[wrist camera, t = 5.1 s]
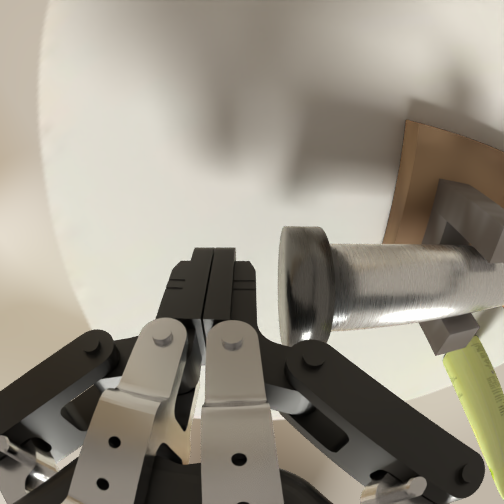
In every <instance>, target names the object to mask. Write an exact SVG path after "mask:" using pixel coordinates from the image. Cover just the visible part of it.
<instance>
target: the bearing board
mask: <svg viewBox="0 0 504 504" xmlns="http://www.w3.org/2000/svg"><path fill="white" fill-rule="evenodd" d="M382 244H423V245H472V246H473V247H474V248H475V249H476V250H477V251H478V252H479V253H480V254H481V255H482V256H483V257H484V258H485V259H486V261H487V262H488V263H489V264H491V263H504V152H503V151H500V150H498V149H496V148H493V147H491V146H488V145H486V144H483V143H481V142H478V141H475V140H473V139H470V138H467V137H464V136H461V135H458V134H455V133H452V132H449V131H446V130H443V129H439V128H436V127H432V126H429V125H425V124H421V123H418V122H414V121H409V120H406V123H405V132H404V140H403V147H402V154H401V160H400V166H399V172H398V178H397V183H396V188H395V193H394V198H393V202H392V207H391V211H390V216H389V220H388V224H387V228H386V232H385V236H384V240H383V243H382ZM419 324H420V326H421V328H422V330H423V332H424V334H425V336H426V338H427V340H428V342H429V344H430V346H431V348H432V350H433V352H434V354H435V356H437V355H440V354H444V353H448V352H452V351H455V350H459V349H462V348H465V347H466V346H467V345H468V344H469V342H470V341H471V339H472V338H473V337H474V335H475V334H476V332H477V331H478V329H479V328H480V327H479V325H478V323H477V322H476V320H475V319H474V317H473V316H472V314H471V313H468V314H463V315H458V316H453V317H447V318H442V319H436V320H430V321H424V322H419Z"/></svg>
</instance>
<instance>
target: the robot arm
mask: <svg viewBox="0 0 504 504" xmlns="http://www.w3.org/2000/svg"><path fill="white" fill-rule="evenodd" d="M201 365H206V367H205V402H204V404H203V405H202V410H201V463H197V464H189V459H190V452H191V441H190V432H191V426H192V421H193V417H194V412H195V407H196V402H197V397H198V392H199V388H200V380H199V378H200V370H201ZM93 384H94V385H93ZM92 385H93V386H92ZM91 386H92V387H91ZM89 387H90V388H89ZM88 388H89V389H88ZM86 389H88V390H86ZM85 390H86V391H85ZM84 391H85V392H84ZM82 392H83V393H82ZM81 393H82V394H81ZM80 394H81V395H80ZM78 395H79V396H78ZM77 396H78V397H77ZM75 397H76V398H75ZM74 398H75V399H74ZM73 399H74V400H73ZM71 400H72V401H71ZM270 409H272V410H276V411H279V412H280V414H281V415H282V416H283V417H284V418H285V419H286V420H287V421H288V422H289V423H290V424H291V425H292V426H293V427H294V428H295V429H297V430H298V431H299V432H300V433H301V434H302V435H303V436H304V437H305V438H306V439H308V440H309V441H310V442H311V443H312V444H313V445H314V446H315V447H317V448H318V449H319V450H320V451H321V452H322V453H324V454H325V455H326V456H327V457H328V458H330V459H331V460H332V461H333V462H334V463H336V464H337V465H338V466H339V467H340V468H342V469H343V470H344V471H345V472H347V473H348V474H349V475H350V476H352V477H353V478H354V479H356V480H357V481H358V482H360V483H361V484H362V485H364V486H365V488H364V490H363V492H362V494H361V497H360V504H449V503H451V502H454V501H457V500H460V499H463V498H466V497H469V496H470V495H472V494H473V493H474V492H475V491H476V490H477V489H478V488H479V486H480V484H481V483H482V481H483V478H484V474H485V465H484V461H483V459H482V457H481V456H480V454H478V453H477V452H475V451H474V450H473V449H471V448H470V447H468V446H467V445H465V444H463V443H462V442H461V441H459V440H458V439H456V438H455V437H454V436H452V435H451V434H449V433H448V432H446V431H445V430H444V429H442V428H441V427H439V426H438V425H436V424H435V423H434V422H432V421H431V420H429V419H428V418H427V417H425V416H424V415H422V414H421V413H419V412H418V411H417V410H415V409H414V408H412V407H411V406H410V405H409V404H407V403H406V402H404V401H403V400H402V399H400V398H399V397H398V396H396V395H395V394H393V393H392V392H391V391H389V390H388V389H387V388H385V387H384V386H383V385H381V384H380V383H379V382H377V381H376V380H375V379H373V378H372V377H371V376H369V375H368V374H367V373H365V372H364V371H363V370H361V369H360V368H359V367H357V366H356V365H355V364H353V363H352V362H351V361H349V360H348V359H347V358H346V357H344V356H343V355H342V354H340V353H339V352H338V351H336V350H335V349H334V348H333V347H331V346H330V345H328V344H327V343H325V342H322V341H319V340H311V339H310V340H303V341H300V342H298V343H296V344H294V345H293V346H292V347H289V346H285V345H281V344H277V343H274V342H272V341H270V340H268V339H267V338H265V337H264V336H263V335H262V334H261V332H260V331H259V329H258V326H257V306H256V272H255V269H254V267H253V266H252V264H251V263H250V261H236V249H235V248H195V249H194V251H193V255H192V258H191V261H180V262H179V263H178V264H177V265H176V266H175V267H174V268H173V270H172V272H171V275H170V278H169V281H168V284H167V286H166V289H165V292H164V295H163V298H162V301H161V304H160V307H159V310H158V313H157V316H156V319H155V320H153V321H151V322H149V323H148V324H146V325H145V326H144V327H143V329H142V330H141V332H140V334H139V336H136V337H132V338H127V339H121V340H115V341H114V340H113V339H112V337H111V335H110V334H109V333H107V332H106V331H103V330H91V331H88V332H86V333H84V334H82V335H81V336H79V337H78V338H76V339H75V340H73V341H72V342H70V343H69V344H67V345H66V346H64V347H63V348H62V349H60V350H59V351H57V352H56V353H54V354H53V355H52V356H50V357H49V358H47V359H46V360H44V361H43V362H41V363H40V364H38V365H37V366H35V367H34V368H33V369H31V370H30V371H28V372H27V373H25V374H24V375H23V376H21V377H20V378H18V379H17V380H16V381H14V382H13V383H11V384H10V385H9V386H7V387H6V388H4V389H3V390H2V391H0V491H1V493H2V495H3V497H4V499H5V501H6V503H7V504H333V503H332V502H330V501H329V500H328V499H327V498H326V497H324V496H323V495H322V494H321V493H320V492H319V491H318V490H317V489H315V487H313V486H312V485H311V484H310V483H309V482H307V481H306V480H304V479H303V478H301V477H299V476H297V475H296V474H293V473H291V472H289V471H286V470H283V469H280V468H279V465H278V458H277V451H276V444H275V437H274V430H273V422H272V415H271V410H270ZM82 445H83V446H82ZM81 446H82V449H81V452H80V455H79V457H77V458H76V459H75V460H73V461H72V462H71V463H69V464H68V465H67V466H65V467H64V468H63V469H61V470H59V468H58V467H57V466H56V463H58V462H59V461H61V460H62V459H64V458H65V457H67V456H68V455H69V454H71V453H72V452H74V451H75V450H77V449H78V448H79V447H81Z"/></svg>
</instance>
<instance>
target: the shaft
mask: <svg viewBox="0 0 504 504" xmlns="http://www.w3.org/2000/svg"><path fill="white" fill-rule="evenodd" d="M499 306H502V307H503V308H504V263H491V264H489V263H488V262H487V261H486V259H485V258H484V257H483V256H482V255H481V254H480V253H479V252H478V251H477V250H476V249H475V248H474V247H473V246H472V245H423V244H329V241H328V238H327V236H326V234H325V232H324V230H323V229H322V228H320V227H297V226H284V227H283V229H282V232H281V237H280V245H279V258H278V313H279V327H280V336H281V342H282V345H285V346H289V347H292V346H293V345H294V344H296V343H298V342H300V341H303V340H310V339H311V340H319V341H322V342H325V343H327V341H328V338H329V336H330V332H335V331H348V330H359V329H369V328H379V327H387V326H395V325H403V324H410V323H417V322H424V321H430V320H436V319H442V318H447V317H453V316H458V315H463V314H468V313H473V312H478V311H482V310H486V309H491V308H495V307H499Z"/></svg>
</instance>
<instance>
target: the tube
mask: <svg viewBox="0 0 504 504" xmlns="http://www.w3.org/2000/svg"><path fill="white" fill-rule="evenodd" d="M443 364H444V366H445V368H446V371H447V373H448V375H449V377H450V379H451V382H452V384H453V386H454V388H455V391H456V393H457V395H458V397H459V400H460V402H461V404H462V406H463V409H464V411H465V413H466V416H467V418H468V420H469V423H470V425H471V427H472V430H473V432H474V434H475V437H476V439H477V442H478V444H479V446H480V449H481V451H482V453H483V456H484V458H485V460H486V463H487V465H488V467H489V470H490V472H491V475H492V477H493V480H494V482H495V484H496V487H497V489H498V491H499V493H500V495H501V497H502V499H503V500H504V394H503V391H502V388H501V386H500V383H499V381H498V378H497V376H496V373H495V371H494V369H493V366H492V364H491V362H490V360H489V358H488V355H487V353H486V351H485V349H484V347H483V345H482V343H481V342H480V340H479V338H478V337H477V336H474V337H473V338H472V339H471V341H470V342H469V344H468V345H467V346H466V347H465V348H462V349H459V350H455V351H452V352H448V353H446V355H445V357H444V359H443Z"/></svg>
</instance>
